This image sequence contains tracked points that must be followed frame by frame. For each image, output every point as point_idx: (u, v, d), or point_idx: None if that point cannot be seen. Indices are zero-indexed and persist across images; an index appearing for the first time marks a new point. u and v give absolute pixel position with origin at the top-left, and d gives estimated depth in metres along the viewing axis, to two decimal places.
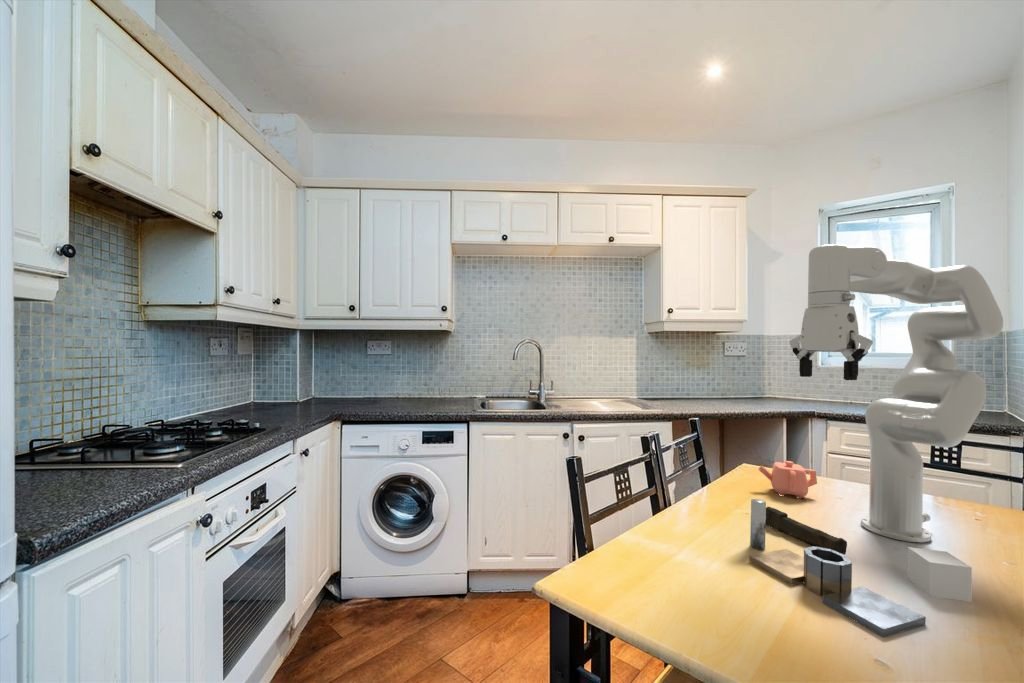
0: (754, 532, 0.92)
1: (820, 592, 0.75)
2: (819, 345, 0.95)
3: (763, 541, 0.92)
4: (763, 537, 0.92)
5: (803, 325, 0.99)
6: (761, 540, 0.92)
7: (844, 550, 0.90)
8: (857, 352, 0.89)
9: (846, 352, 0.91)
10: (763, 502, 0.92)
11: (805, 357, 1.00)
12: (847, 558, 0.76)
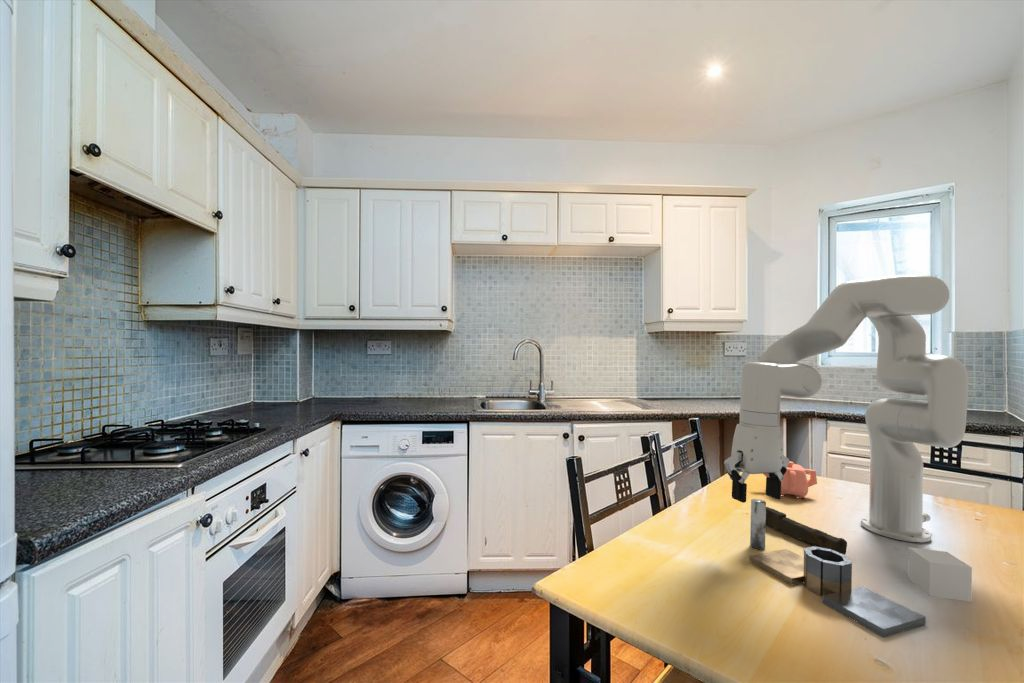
0: (754, 532, 0.92)
1: (820, 592, 0.75)
2: (765, 468, 0.91)
3: (763, 541, 0.92)
4: (763, 537, 0.92)
5: (752, 446, 0.90)
6: (761, 540, 0.92)
7: (845, 550, 0.90)
8: (783, 471, 0.94)
9: (779, 472, 0.93)
10: (763, 502, 0.92)
11: None
12: (847, 558, 0.76)
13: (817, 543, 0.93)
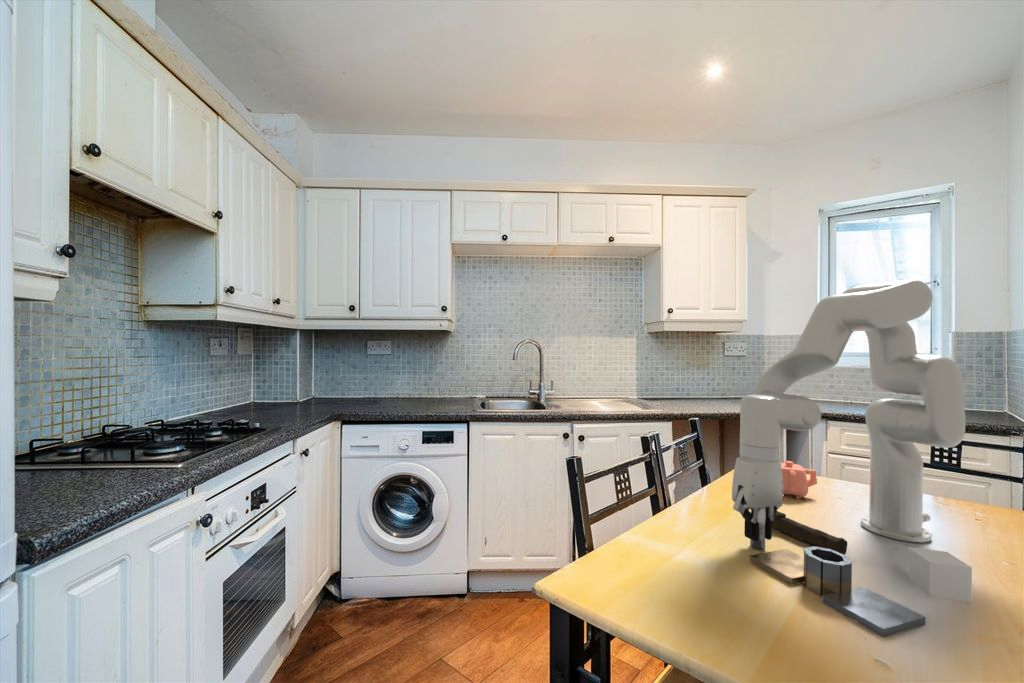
0: None
1: (820, 592, 0.75)
2: (766, 502, 0.91)
3: (763, 541, 0.92)
4: (763, 537, 0.92)
5: (753, 481, 0.90)
6: (761, 540, 0.91)
7: (845, 550, 0.90)
8: (774, 510, 0.93)
9: (772, 511, 0.92)
10: None
11: None
12: (847, 558, 0.76)
13: (817, 543, 0.93)
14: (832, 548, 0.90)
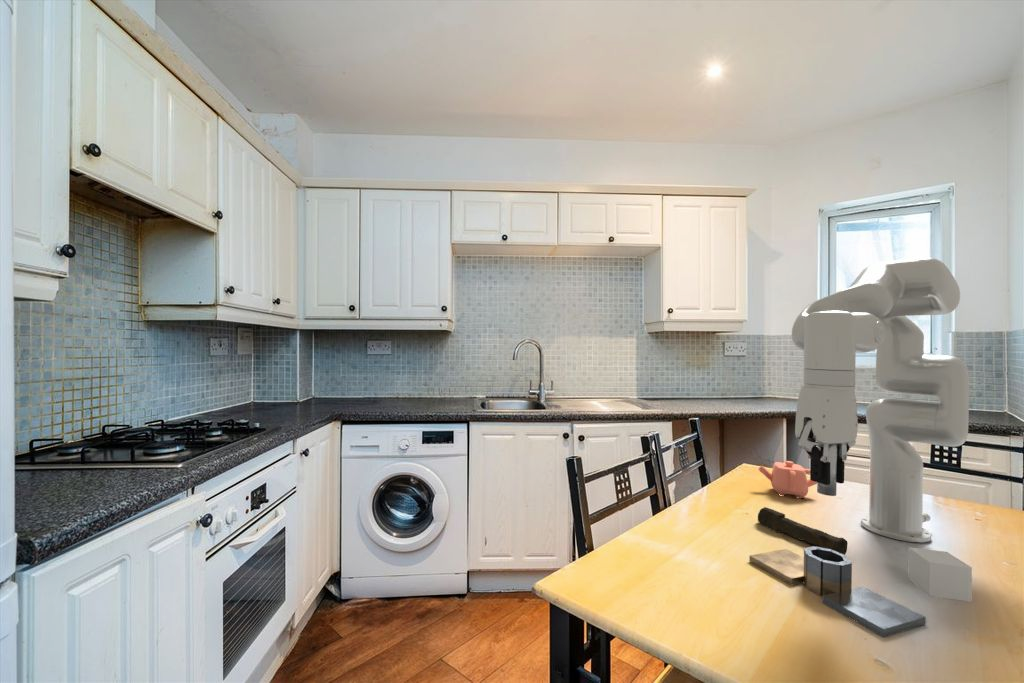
0: None
1: (820, 592, 0.75)
2: (839, 437, 0.75)
3: (834, 485, 0.76)
4: (834, 479, 0.76)
5: (824, 411, 0.74)
6: (832, 483, 0.76)
7: (845, 550, 0.90)
8: None
9: (845, 449, 0.77)
10: None
11: None
12: (847, 558, 0.76)
13: (818, 543, 0.93)
14: (833, 548, 0.90)
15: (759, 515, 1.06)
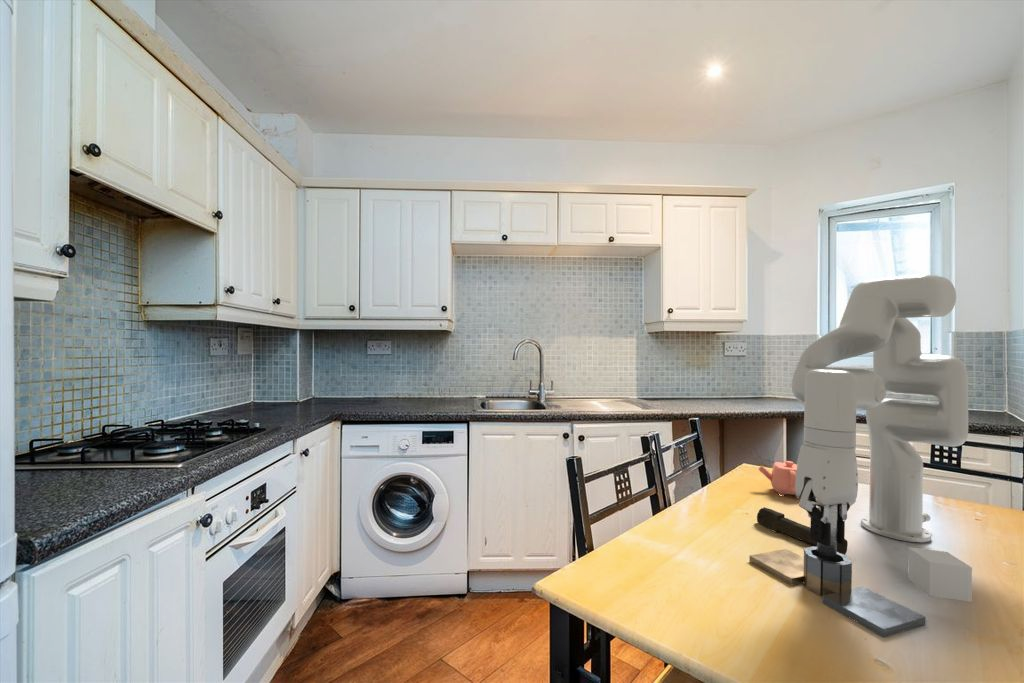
0: None
1: (820, 592, 0.75)
2: (839, 497, 0.75)
3: (835, 545, 0.76)
4: (834, 540, 0.76)
5: (824, 472, 0.74)
6: (832, 544, 0.76)
7: (846, 550, 0.90)
8: None
9: (845, 509, 0.77)
10: None
11: None
12: (847, 558, 0.76)
13: None
14: None
15: (758, 515, 1.05)
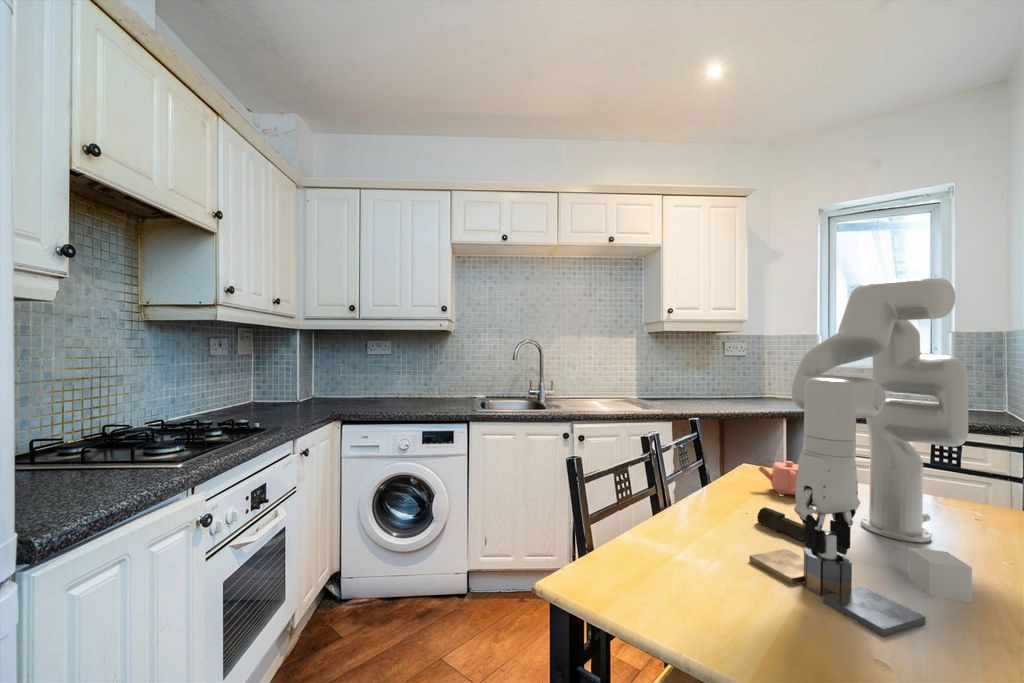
0: None
1: (820, 592, 0.75)
2: (839, 506, 0.75)
3: None
4: None
5: (824, 481, 0.74)
6: None
7: (846, 550, 0.90)
8: (852, 514, 0.78)
9: (850, 515, 0.77)
10: (833, 535, 0.76)
11: None
12: (847, 558, 0.76)
13: None
14: None
15: (759, 515, 1.06)
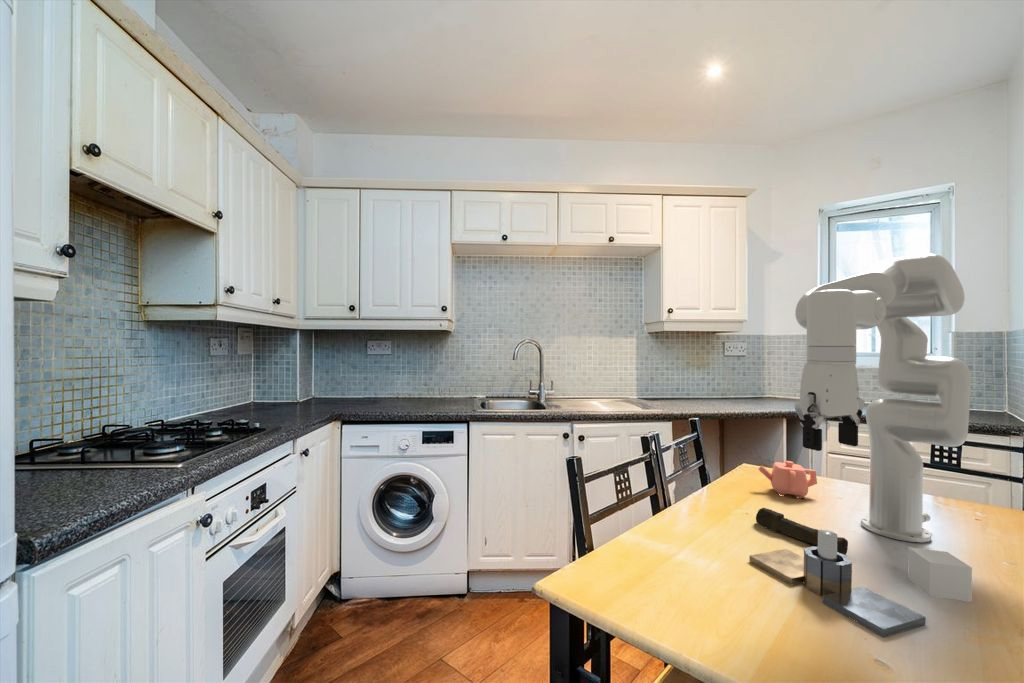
0: None
1: (820, 592, 0.75)
2: (841, 410, 0.79)
3: None
4: None
5: (827, 386, 0.78)
6: None
7: (846, 549, 0.90)
8: (859, 414, 0.82)
9: (855, 415, 0.81)
10: (834, 534, 0.77)
11: None
12: (847, 558, 0.76)
13: None
14: None
15: (757, 516, 1.05)
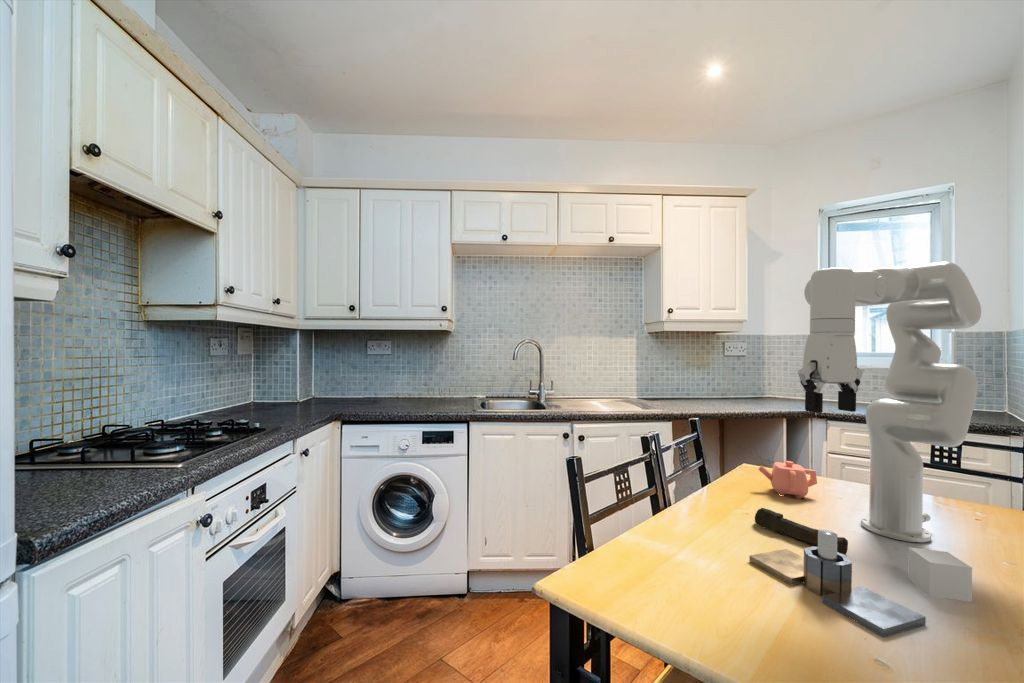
0: None
1: (820, 592, 0.75)
2: (841, 377, 0.87)
3: None
4: None
5: (828, 354, 0.86)
6: None
7: (846, 549, 0.90)
8: (857, 383, 0.90)
9: (854, 383, 0.89)
10: (834, 534, 0.76)
11: None
12: (847, 558, 0.76)
13: None
14: None
15: (756, 516, 1.05)
